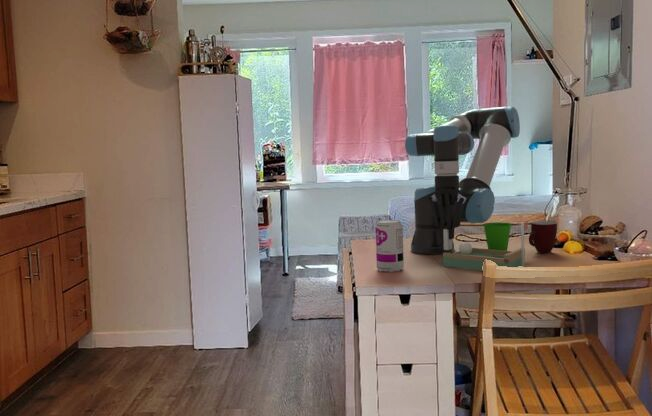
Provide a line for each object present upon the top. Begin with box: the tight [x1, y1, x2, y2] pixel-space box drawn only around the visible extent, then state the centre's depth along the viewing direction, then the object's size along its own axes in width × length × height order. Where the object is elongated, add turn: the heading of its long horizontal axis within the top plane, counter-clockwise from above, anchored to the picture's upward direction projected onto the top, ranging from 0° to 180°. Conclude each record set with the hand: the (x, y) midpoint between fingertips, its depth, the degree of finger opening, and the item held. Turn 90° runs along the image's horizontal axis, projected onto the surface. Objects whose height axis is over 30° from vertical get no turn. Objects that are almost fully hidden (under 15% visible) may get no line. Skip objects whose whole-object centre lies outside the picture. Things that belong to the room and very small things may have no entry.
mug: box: [528, 220, 558, 255], centre depth 196 cm, size 10×8×10 cm
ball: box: [458, 241, 473, 255], centre depth 184 cm, size 4×4×4 cm
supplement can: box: [375, 219, 405, 273], centre depth 181 cm, size 8×8×15 cm
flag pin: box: [520, 221, 528, 267], centre depth 174 cm, size 2×4×14 cm, turn 139°
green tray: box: [442, 247, 526, 272], centre depth 180 cm, size 21×12×5 cm, turn 49°
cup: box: [482, 221, 512, 251], centre depth 192 cm, size 9×9×11 cm
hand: (448, 249), depth 188 cm, fingers closed
